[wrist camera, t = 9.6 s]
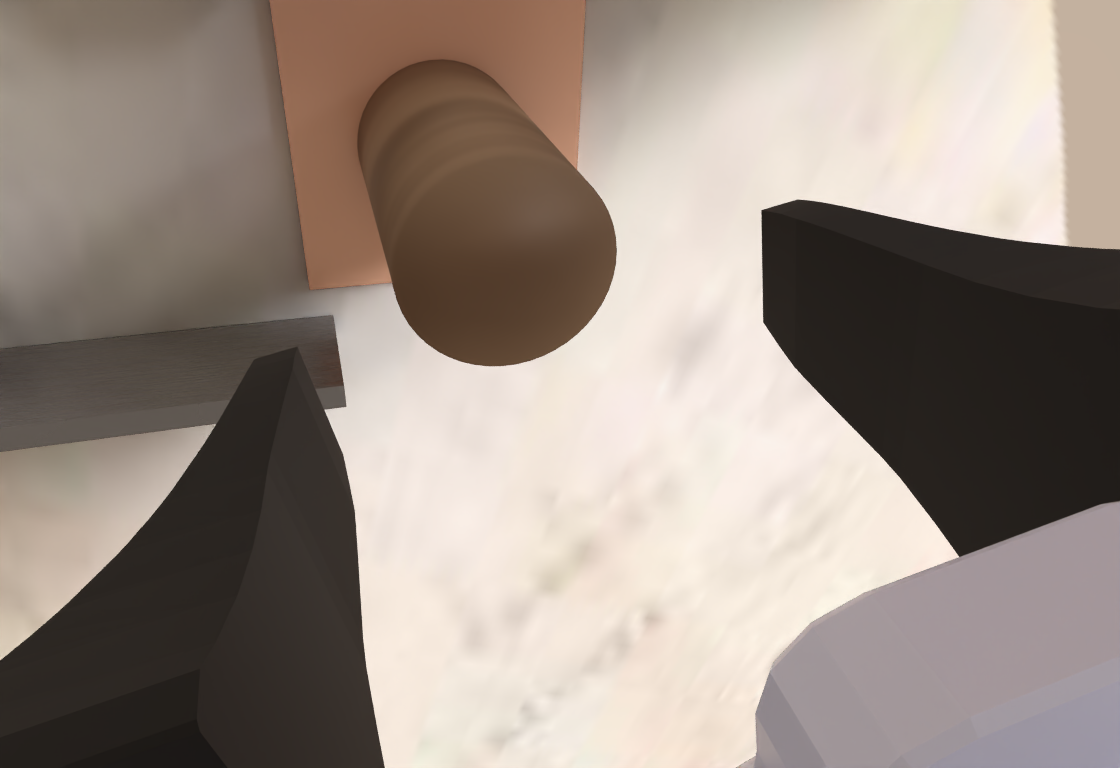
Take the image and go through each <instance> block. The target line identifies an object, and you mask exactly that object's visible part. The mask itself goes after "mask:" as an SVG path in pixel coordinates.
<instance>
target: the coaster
mask: <svg viewBox="0 0 1120 768" xmlns="http://www.w3.org/2000/svg"><path fill="white" fill-rule="evenodd" d="M269 1H270V8H271V15H272V23H273V30H274V37H275V44H276V51H277V59H278V66H279V73H280V80H281V87H282V95H283V102H284V109H285V116H286V123H287V131H288V138H289V145H290V152H291V159H292V167H293V174H294V181H295V188H296V195H297V202H298V210H299V217H300V224H301V231H302V238H303V246H304V253H305V260H306V267H307V274H308V282H309V289H310V290H315V289H326V288H337V287H348V286H358V285H369V284H380V283H391V282H392V280H391V276H390V273H389V269H388V265H387V262H386V258H385V254H384V251H383V247H382V243H381V239H380V236H379V232H378V228H377V225H376V221H375V217H374V213H373V210H372V206H371V202H370V199H369V195H368V191H367V187H366V184H365V180H364V176H363V173H362V169H361V165H360V161H359V157H358V148H357V138H358V129H359V123H360V120H361V117H362V114H363V111H364V109H365V107H366V105H367V103H368V101H369V99H370V98H371V96H372V95H373V93H374V92H375V91H376V90H377V88H378V87H379V86H380V85H381V84H382V83H383V82H384V81H385V80H386V79H388V78H389V77H390V76H391V75H393V74H394V73H396V72H397V71H399V70H401V69H403V68H405V67H407V66H409V65H412V64H415V63H418V62H422V61H428V60H441V59H444V60H453V61H458V62H462V63H466V64H468V65H471V66H473V67H476V68H478V69H479V70H481V71H483V72H485V73H486V74H488V75H489V76H490V77H492V78H493V79H494V80H495V81H496V82H497V83H498V84H499V85H500V86H501V87H502V88H503V89H504V90H505V91H506V92H507V93H508V94H509V96H510V97H511V98H512V99H513V100H514V101H515V102H516V103H517V104H518V106H519V107H520V108H521V109H522V110H523V111H524V112H525V113H526V114H527V115H528V117H529V118H530V119H531V120H532V121H533V122H534V123H535V124H536V125H537V127H538V128H539V129H540V130H541V131H542V132H543V133H544V134H545V135H546V136H547V138H548V139H549V140H550V141H551V142H552V143H553V144H554V145H555V146H556V148H557V149H558V150H559V151H560V152H561V153H562V154H563V155H564V156H565V157H566V159H567V160H568V161H569V162H570V163H571V164H572V165H573V166H574V167H575V169H576V170H577V159H578V140H579V121H580V102H581V83H582V64H583V45H584V26H585V7H586V0H269Z"/></svg>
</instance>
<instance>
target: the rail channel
mask: <svg viewBox="0 0 1120 768" xmlns="http://www.w3.org/2000/svg"><path fill="white" fill-rule="evenodd" d="M294 347H298V349H299V352H300V354H301V356H302V359H303V361H304V364H305V366H306V368H307V371H308V373H309V375H310V378H311V380H312V382H313V385H314V387H315V390H316V392H317V394H318V397H319V399H320V401H321V404H322V406H323V408H324V410H325V409H333V408H340V407H346V399H345V391H344V383H343V377H342V370H341V364H340V357H339V351H338V344H337V338H336V331H335V325H334V318H333V315H331V316H321V317H312V318H302V319H292V320H282V321H272V322H262V323H252V324H242V325H233V326H223V327H213V328H203V329H193V330H183V331H173V332H163V333H154V334H144V335H134V336H124V337H114V338H104V339H94V340H85V341H75V342H65V343H55V344H45V345H35V346H25V347H15V348H6V349H0V452H2V451H10V450H18V449H25V448H33V447H41V446H48V445H56V444H64V443H72V442H79V441H87V440H95V439H102V438H110V437H118V436H125V435H133V434H141V433H148V432H156V431H164V430H171V429H179V428H187V427H194V426H202V425H210V424H217V422H218V421H219V419H220V417H221V416H222V414H223V412H224V410H225V409H226V407H227V405H228V403H229V402H230V400H231V398H232V396H233V395H234V393H235V391H236V389H237V388H238V386H239V384H240V382H241V381H242V379H243V377H244V376H245V374H246V372H247V370H248V369H249V367H250V365H251V364H252V362H253V360H254V359H256V358H260V357H263V356H266V355H270V354H273V353H277V352H280V351H283V350H287V349H290V348H294Z"/></svg>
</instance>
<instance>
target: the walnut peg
mask: <svg viewBox="0 0 1120 768" xmlns="http://www.w3.org/2000/svg"><path fill="white" fill-rule="evenodd" d="M357 148H358V157H359V161H360V165H361V169H362V173H363V176H364V180H365V184H366V187H367V191H368V195H369V199H370V202H371V206H372V210H373V213H374V217H375V221H376V225H377V228H378V232H379V236H380V239H381V243H382V247H383V251H384V254H385V258H386V262H387V265H388V269H389V273H390V276H391V280H392V284H393V288H394V291H395V295H396V299H397V302H398V304H399V307H400V309H401V311H402V314H403V315H404V317H405V319H406V320H407V322H408V324H409V325H410V326H411V328H412V329H413V330H414V331H415V332H416V334H417V335H418V336H419V337H420V338H421V339H423V340H424V341H425V342H426V343H427V344H428V345H430V346H431V347H433V348H434V349H435V350H437V351H438V352H440V353H442V354H444V355H446V356H448V357H450V358H453V359H456V360H458V361H461V362H465V363H470V364H474V365H482V366H506V365H514V364H519V363H523V362H527V361H531V360H533V359H536V358H539V357H541V356H544V355H546V354H548V353H550V352H552V351H554V350H556V349H557V348H559V347H560V346H562V345H564V344H565V343H567V342H568V341H569V340H570V339H572V338H573V337H574V336H575V335H577V334H578V333H579V332H580V331H581V330H582V329H583V328H584V327H585V326H586V325H587V324H588V323H589V321H590V320H591V319H592V318H593V316H594V315H595V314H596V312H597V311H598V309H599V308H600V306H601V304H602V303H603V301H604V299H605V297H606V295H607V293H608V290H609V288H610V285H611V282H612V279H613V275H614V270H615V265H616V253H617V248H616V236H615V231H614V226H613V223H612V220H611V217H610V214H609V212H608V210H607V208H606V206H605V204H604V202H603V201H602V199H601V198H600V196H599V195H598V194H597V192H596V191H595V190H594V188H593V187H592V186H591V185H590V184H589V183H588V182H587V181H586V180H585V178H584V177H583V176H582V175H581V174H580V173H579V172H578V171H577V170H576V169H575V167H574V166H573V165H572V164H571V163H570V162H569V161H568V160H567V159H566V157H565V156H564V155H563V154H562V153H561V152H560V151H559V150H558V149H557V148H556V146H555V145H554V144H553V143H552V142H551V141H550V140H549V139H548V138H547V136H546V135H545V134H544V133H543V132H542V131H541V130H540V129H539V128H538V127H537V125H536V124H535V123H534V122H533V121H532V120H531V119H530V118H529V117H528V115H527V114H526V113H525V112H524V111H523V110H522V109H521V108H520V107H519V106H518V104H517V103H516V102H515V101H514V100H513V99H512V98H511V97H510V96H509V94H508V93H507V92H506V91H505V90H504V89H503V88H502V87H501V86H500V85H499V84H498V83H497V82H496V81H495V80H494V79H493V78H492V77H490V76H489V75H488V74H486V73H485V72H483V71H481V70H479V69H478V68H476V67H473V66H471V65H468V64H466V63H462V62H458V61H453V60H444V59H441V60H428V61H422V62H418V63H415V64H412V65H409V66H407V67H405V68H403V69H401V70H399V71H397V72H396V73H394V74H393V75H391V76H390V77H389V78H388V79H386V80H385V81H384V82H383V83H382V84H381V85H380V86H379V87H378V88H377V90H376V91H375V92H374V93H373V95H372V96H371V98H370V99H369V101H368V103H367V105H366V107H365V109H364V111H363V114H362V117H361V120H360V123H359V129H358V138H357Z"/></svg>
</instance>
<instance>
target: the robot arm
mask: <svg viewBox="0 0 1120 768" xmlns="http://www.w3.org/2000/svg"><path fill="white" fill-rule="evenodd" d="M761 211H762V270H763V322H764V324H765V325H766V327H767V328H768V330H769V331H770V333H771V334H772V336H773V337H774V339H775V340H776V342H777V343H778V345H779V346H780V348H781V349H782V351H783V352H784V353H785V355H786V356H787V357H788V359H789V360H790V361H791V363H792V364H793V365H794V367H795V368H796V369H797V370H798V371H799V372H800V373H801V375H802V376H803V377H804V378H805V379H806V380H807V381H808V382H809V383H810V384H811V385H812V386H813V387H814V388H815V389H816V390H817V391H818V392H819V393H820V395H821V396H822V397H823V398H824V399H825V400H826V401H827V402H828V403H829V404H830V405H831V406H832V407H833V408H834V409H835V410H836V411H837V412H838V413H839V414H840V415H841V416H842V417H843V418H844V419H845V420H846V421H847V422H848V423H849V424H850V425H851V426H852V427H853V428H854V429H855V430H856V431H857V432H858V433H859V434H860V435H861V436H862V437H863V439H864V440H865V441H866V442H867V443H868V444H869V445H870V446H871V447H872V448H873V449H874V450H875V451H876V452H877V453H878V454H879V455H880V456H881V457H882V458H883V459H884V460H885V461H886V462H887V464H888V465H889V466H890V467H891V468H892V469H893V470H894V471H895V473H896V474H897V475H898V476H899V477H900V478H901V480H902V481H903V482H904V483H905V485H906V486H907V487H908V489H909V490H910V491H911V492H912V494H913V495H914V496H915V498H916V499H917V500H918V502H919V503H920V504H921V505H922V507H923V508H924V509H925V511H926V512H927V513H928V515H929V516H930V517H931V518H932V520H933V521H934V522H935V524H936V525H937V526H938V528H939V529H940V531H941V532H942V533H943V535H944V536H945V537H946V539H947V540H948V542H949V543H950V544H951V546H952V547H953V549H954V550H955V551H956V553H957V554H958V556H959V558H956V559H953V560H951V561H948V562H945V563H943V564H940V565H937V566H935V567H932V568H929V569H927V570H924V571H921V572H919V573H916V574H913V575H911V576H908V577H905V578H903V579H900V580H897V581H895V582H892V583H889V584H887V585H884V586H881V587H879V588H876V589H873V590H871V591H868V592H865V593H863V594H861V595H859V596H857V597H856V598H854V599H852V600H850V601H848V602H847V603H845V604H843V605H841V606H840V607H838V608H836V609H834V610H832V611H831V612H829V613H827V614H825V615H823V616H822V617H820V618H818V619H816V620H814V621H813V622H811V623H810V624H809V625H808V626H807V627H806V628H805V629H804V630H803V631H802V632H801V634H800V635H799V636H798V637H797V638H796V639H795V640H794V641H793V642H792V643H791V644H790V645H789V646H788V647H787V648H786V649H785V650H784V651H783V652H782V653H781V654H780V655H779V657H778V658H777V659H776V660H775V661H774V662H773V664H772V667H771V670H770V673H769V675H768V678H767V681H766V684H765V687H764V690H763V693H762V696H761V699H760V702H759V705H758V707H757V710H756V713H755V716H756V744H757V752H756V756H755V757H753V758H751V759H749V760H748V761H746V762H744V763H743V764H741V765H739V766H738V767H736V768H1120V250H1119V249H1097V248H1082V247H1081V248H1080V247H1069V246H1060V245H1050V244H1041V243H1031V242H1022V241H1015V240H1007V239H1000V238H994V237H988V236H983V235H977V234H971V233H965V232H960V231H954V230H949V229H944V228H939V227H934V226H929V225H924V224H920V223H915V222H910V221H906V220H901V219H897V218H892V217H888V216H884V215H879V214H875V213H870V212H866V211H861V210H857V209H852V208H848V207H843V206H838V205H833V204H828V203H822V202H816V201H808V200H795V201H791V202H788V203H784V204H781V205H778V206H774V207H771V208H767V209H764V210H761ZM0 768H385V767H384V762H383V757H382V751H381V746H380V741H379V736H378V731H377V725H376V720H375V714H374V708H373V703H372V697H371V691H370V686H369V680H368V675H367V669H366V661H365V652H364V643H363V631H362V615H361V599H360V583H359V567H358V551H357V536H356V522H355V510H354V505H353V500H352V495H351V490H350V485H349V480H348V476H347V471H346V466H345V461H344V457H343V453H342V451H341V449H340V446H339V444H338V442H337V439H336V437H335V435H334V432H333V430H332V427H331V425H330V423H329V420H328V418H327V416H326V413H325V411H324V408H323V406H322V404H321V401H320V399H319V397H318V394H317V392H316V390H315V387H314V385H313V382H312V380H311V378H310V375H309V373H308V371H307V368H306V366H305V364H304V361H303V359H302V356H301V354H300V352H299V349H298V347H294V348H290V349H287V350H283V351H280V352H277V353H273V354H270V355H266V356H263V357H260V358H256V359H254V360H253V362H252V364H251V365H250V367H249V369H248V370H247V372H246V374H245V376H244V377H243V379H242V381H241V382H240V384H239V386H238V388H237V389H236V391H235V393H234V395H233V396H232V398H231V400H230V402H229V403H228V405H227V407H226V409H225V410H224V412H223V414H222V416H221V417H220V419H219V421H218V422H217V424H216V426H215V427H214V429H213V430H212V432H211V434H210V435H209V437H208V439H207V440H206V442H205V444H204V445H203V446H202V448H201V449H200V451H199V452H198V454H197V455H196V456H195V458H194V459H193V461H192V462H191V464H190V465H189V467H188V468H187V469H186V471H185V472H184V474H183V475H182V477H181V478H180V479H179V481H178V482H177V484H176V485H175V487H174V488H173V490H172V491H171V492H170V493H169V495H168V496H167V497H166V499H165V500H164V501H163V503H162V504H161V505H160V506H159V508H158V509H157V510H156V511H155V512H154V514H153V515H152V516H151V517H150V518H149V520H148V521H147V522H146V523H145V524H144V525H143V527H142V528H141V529H140V530H139V531H138V532H137V533H136V535H135V536H134V537H133V538H132V539H131V540H130V541H129V543H128V544H127V545H126V546H125V547H124V548H123V549H122V550H121V551H120V552H119V553H118V554H117V555H116V556H115V557H114V558H113V559H112V560H111V561H110V562H109V563H108V564H107V565H106V566H105V567H104V568H103V569H102V570H101V571H100V572H99V573H98V574H97V575H96V576H95V577H94V578H93V579H92V580H91V581H90V582H89V583H88V584H87V585H86V586H85V587H84V588H83V589H82V590H81V591H80V592H79V593H78V594H77V595H76V596H75V597H74V598H73V599H72V600H71V601H70V602H69V603H68V604H66V605H65V606H64V607H63V608H62V609H61V610H60V611H59V612H58V613H56V614H55V615H54V616H53V617H52V618H51V619H49V620H48V621H47V622H46V623H45V624H44V625H43V626H41V627H40V628H39V629H38V630H37V631H36V632H35V633H33V634H32V635H31V636H30V637H29V638H27V639H26V640H25V641H24V642H22V643H21V644H20V645H19V646H18V647H16V648H15V649H14V650H13V651H11V652H10V653H9V654H8V655H7V656H5V657H4V658H3V659H2V660H0Z"/></svg>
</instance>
